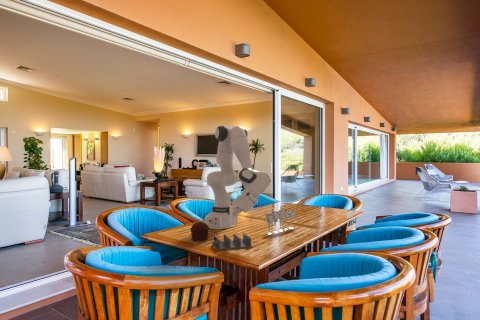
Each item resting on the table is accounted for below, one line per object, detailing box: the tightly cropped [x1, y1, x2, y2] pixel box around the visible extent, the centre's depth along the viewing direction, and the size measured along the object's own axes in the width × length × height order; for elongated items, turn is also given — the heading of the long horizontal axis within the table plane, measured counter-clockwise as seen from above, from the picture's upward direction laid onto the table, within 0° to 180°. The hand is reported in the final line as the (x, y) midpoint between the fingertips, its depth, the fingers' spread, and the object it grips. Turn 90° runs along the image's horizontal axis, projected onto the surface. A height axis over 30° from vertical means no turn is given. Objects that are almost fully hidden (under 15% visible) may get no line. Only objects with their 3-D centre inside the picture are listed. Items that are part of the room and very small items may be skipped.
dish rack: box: [212, 232, 253, 252], centre depth 172 cm, size 19×14×5 cm
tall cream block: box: [230, 204, 238, 226], centre depth 172 cm, size 3×5×10 cm, turn 18°
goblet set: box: [265, 209, 296, 235], centre depth 207 cm, size 28×6×13 cm, turn 133°
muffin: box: [190, 221, 210, 242], centre depth 184 cm, size 12×11×10 cm
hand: (232, 214), depth 172 cm, fingers closed on tall cream block, 5 cm apart
